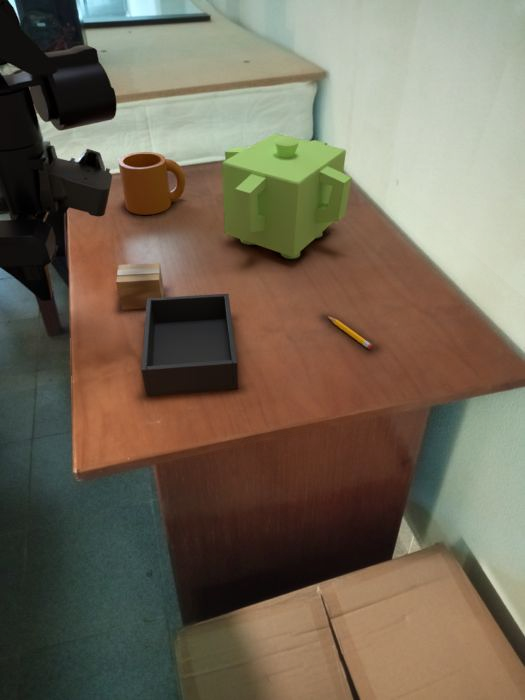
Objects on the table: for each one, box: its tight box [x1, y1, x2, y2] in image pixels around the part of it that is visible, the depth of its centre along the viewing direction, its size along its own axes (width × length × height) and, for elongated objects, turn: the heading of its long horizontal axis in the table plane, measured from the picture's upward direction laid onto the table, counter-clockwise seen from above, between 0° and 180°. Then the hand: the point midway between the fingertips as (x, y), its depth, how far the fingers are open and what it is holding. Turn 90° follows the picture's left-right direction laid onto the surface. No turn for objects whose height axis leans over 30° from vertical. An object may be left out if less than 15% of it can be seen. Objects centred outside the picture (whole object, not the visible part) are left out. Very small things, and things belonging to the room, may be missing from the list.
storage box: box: [221, 132, 353, 260], centre depth 84 cm, size 25×23×17 cm
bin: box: [141, 293, 239, 397], centre depth 65 cm, size 11×14×4 cm
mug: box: [117, 151, 186, 216], centre depth 96 cm, size 9×12×9 cm
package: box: [115, 262, 165, 311], centre depth 73 cm, size 6×4×5 cm
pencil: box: [327, 316, 374, 351], centre depth 70 cm, size 1×9×1 cm, turn 38°
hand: (54, 276), depth 58 cm, fingers open, 9 cm apart
